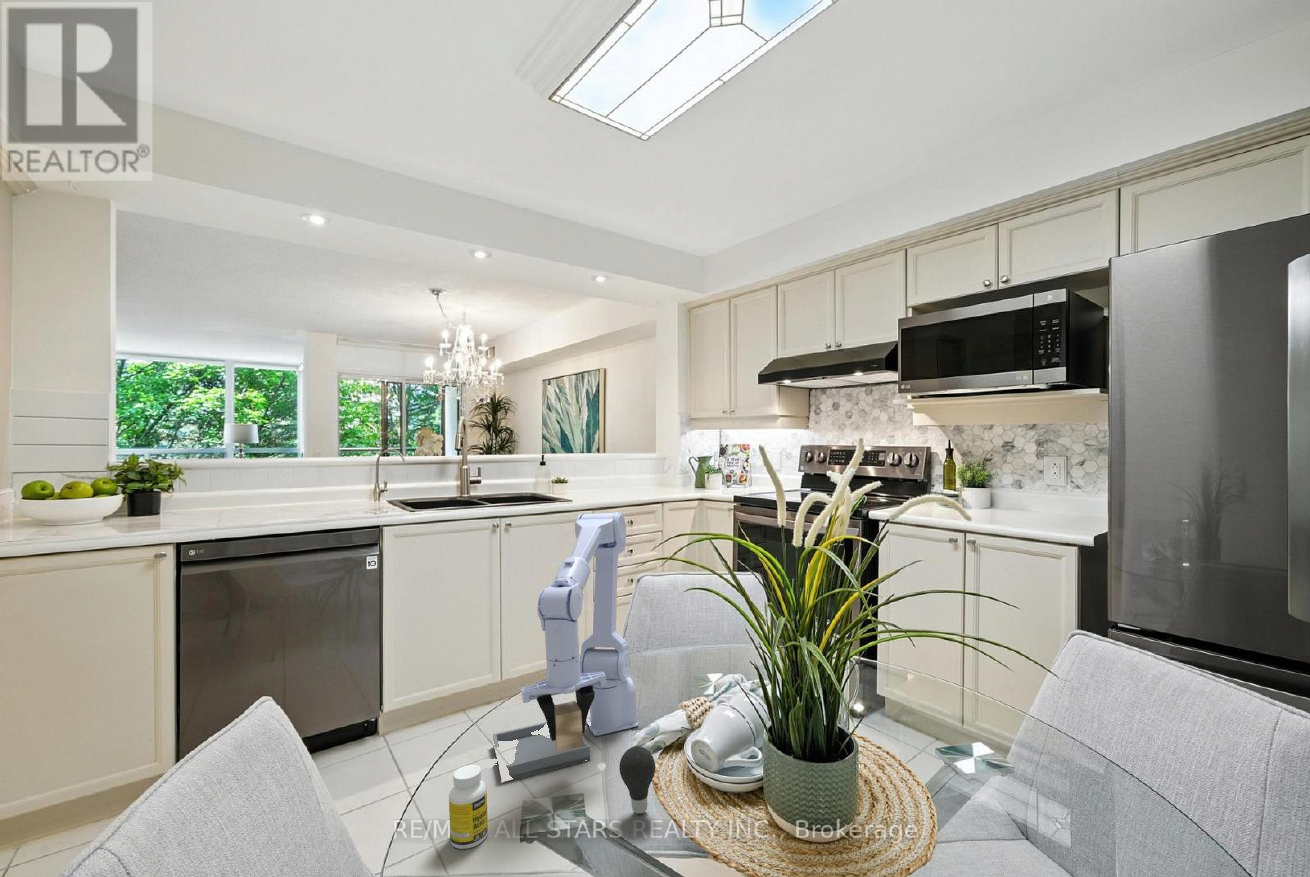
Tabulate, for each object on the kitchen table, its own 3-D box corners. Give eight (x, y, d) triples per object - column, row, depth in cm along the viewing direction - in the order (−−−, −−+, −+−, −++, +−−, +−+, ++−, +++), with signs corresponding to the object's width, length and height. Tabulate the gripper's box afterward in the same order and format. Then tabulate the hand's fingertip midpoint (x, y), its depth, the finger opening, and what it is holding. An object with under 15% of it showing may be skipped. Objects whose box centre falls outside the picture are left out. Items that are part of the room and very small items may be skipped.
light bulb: (654, 799, 92) (651, 737, 92) (660, 821, 87) (656, 754, 87) (620, 805, 91) (616, 742, 91) (624, 827, 86) (620, 760, 86)
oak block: (577, 734, 102) (575, 700, 102) (583, 745, 98) (581, 710, 98) (552, 740, 100) (550, 706, 101) (557, 752, 96) (555, 716, 97)
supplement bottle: (477, 852, 82) (473, 783, 82) (443, 849, 83) (440, 780, 84) (495, 827, 87) (491, 762, 88) (462, 825, 88) (459, 761, 89)
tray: (572, 728, 118) (572, 716, 119) (590, 760, 105) (589, 746, 106) (493, 746, 113) (492, 734, 113) (501, 783, 100) (500, 768, 100)
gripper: (524, 671, 93) (528, 755, 93) (609, 655, 99) (613, 734, 98) (518, 658, 100) (522, 736, 99) (598, 643, 105) (602, 718, 105)
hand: (567, 734), depth 99 cm, fingers closed on oak block, 4 cm apart
